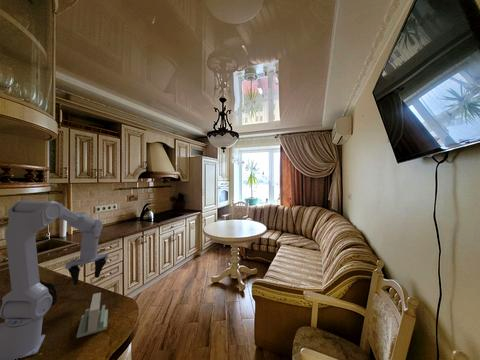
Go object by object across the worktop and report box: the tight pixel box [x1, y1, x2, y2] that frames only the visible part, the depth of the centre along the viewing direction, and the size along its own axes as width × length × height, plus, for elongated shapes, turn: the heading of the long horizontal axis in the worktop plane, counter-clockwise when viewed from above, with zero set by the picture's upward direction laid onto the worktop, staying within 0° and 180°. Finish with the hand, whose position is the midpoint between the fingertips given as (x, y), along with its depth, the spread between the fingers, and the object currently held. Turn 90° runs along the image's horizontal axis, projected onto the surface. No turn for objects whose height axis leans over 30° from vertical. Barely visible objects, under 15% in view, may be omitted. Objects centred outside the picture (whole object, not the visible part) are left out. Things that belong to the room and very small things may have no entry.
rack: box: [76, 304, 109, 339], centre depth 68 cm, size 8×11×3 cm
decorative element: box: [39, 279, 58, 306], centre depth 83 cm, size 22×5×6 cm, turn 60°
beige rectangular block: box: [88, 292, 102, 333], centre depth 68 cm, size 12×2×7 cm, turn 33°
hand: (86, 280), depth 80 cm, fingers open, 7 cm apart
